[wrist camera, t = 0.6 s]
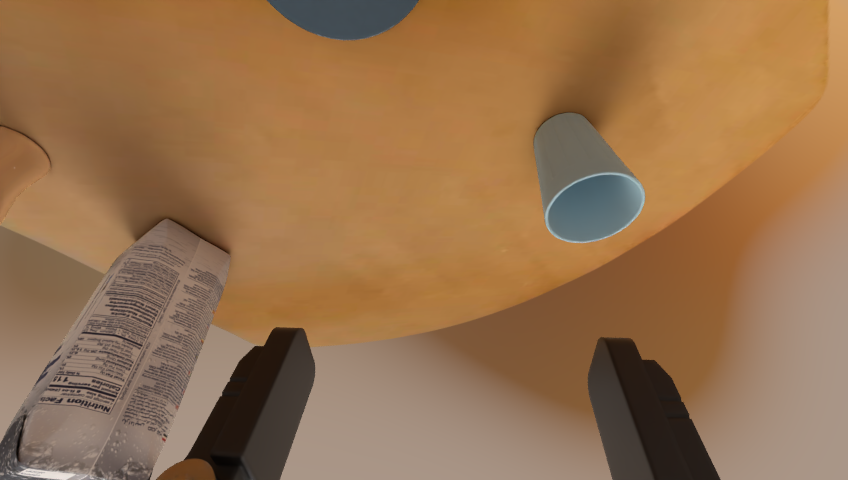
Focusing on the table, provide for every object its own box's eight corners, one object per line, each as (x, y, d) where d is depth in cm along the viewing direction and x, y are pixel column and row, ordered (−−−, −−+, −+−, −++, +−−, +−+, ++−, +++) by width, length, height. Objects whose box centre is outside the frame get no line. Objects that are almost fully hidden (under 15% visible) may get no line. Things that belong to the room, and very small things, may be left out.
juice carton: (162, 206, 46) (-7, 485, 27) (244, 255, 52) (151, 509, 33) (122, 240, 49) (-50, 504, 31) (203, 282, 56) (100, 522, 37)
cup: (536, 180, 44) (560, 254, 37) (509, 125, 39) (532, 198, 32) (609, 149, 41) (651, 223, 34) (591, 86, 36) (635, 156, 29)
